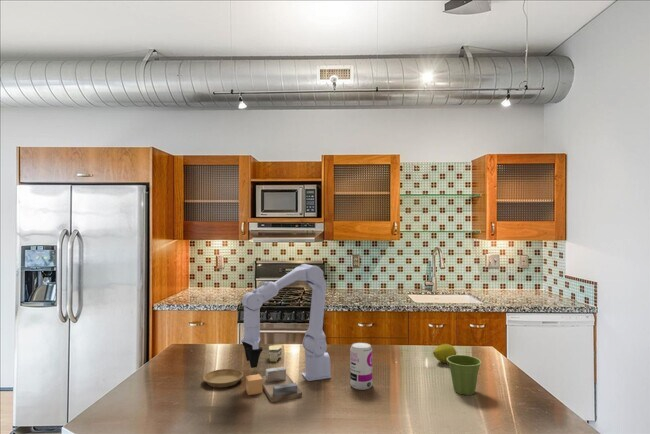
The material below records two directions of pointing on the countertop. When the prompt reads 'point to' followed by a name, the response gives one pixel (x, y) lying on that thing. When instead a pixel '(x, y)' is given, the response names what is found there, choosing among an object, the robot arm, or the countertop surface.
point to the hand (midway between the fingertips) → (251, 363)
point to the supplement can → (361, 366)
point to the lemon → (444, 352)
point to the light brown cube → (254, 384)
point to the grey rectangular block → (275, 374)
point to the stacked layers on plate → (275, 352)
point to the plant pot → (464, 373)
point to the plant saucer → (223, 377)
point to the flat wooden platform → (281, 389)
